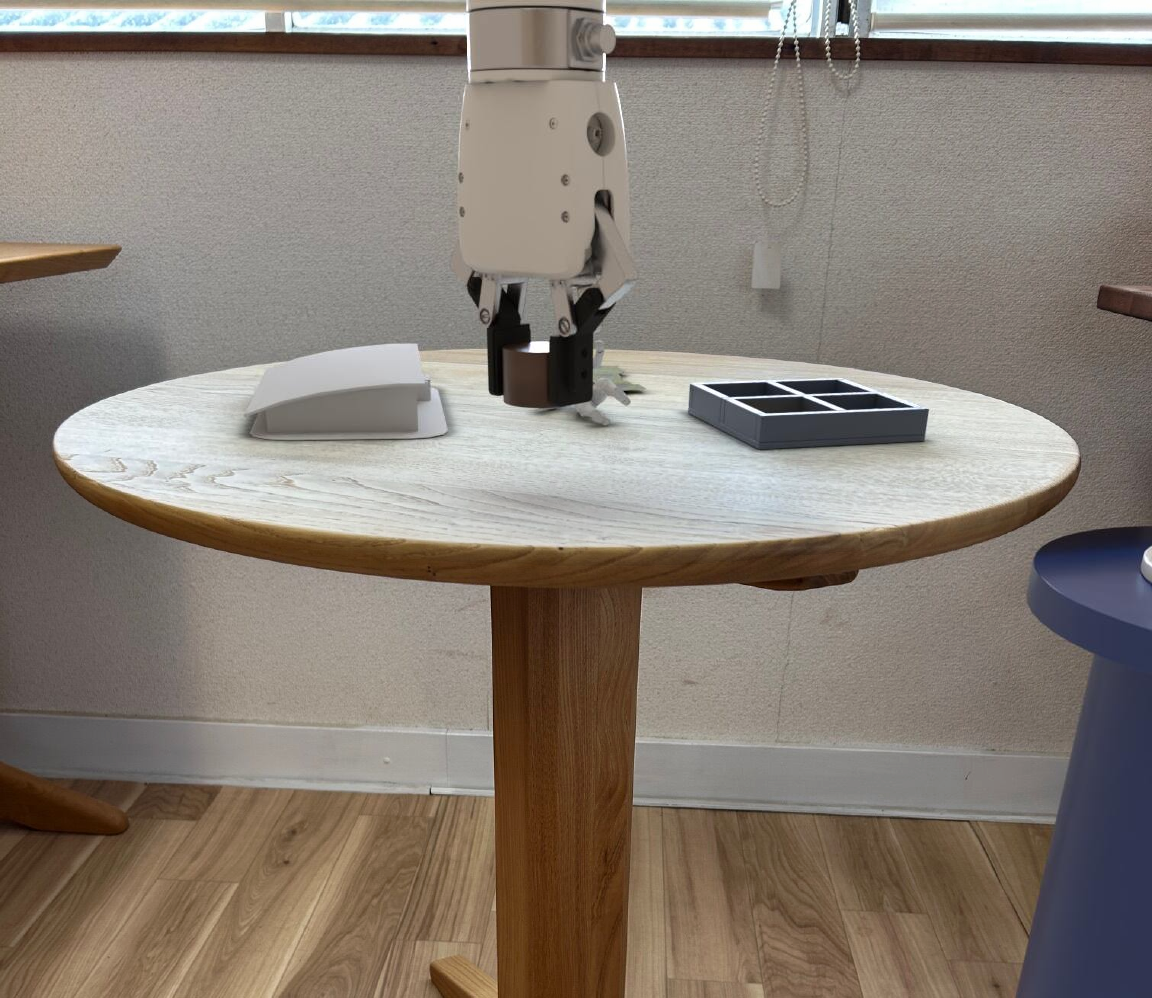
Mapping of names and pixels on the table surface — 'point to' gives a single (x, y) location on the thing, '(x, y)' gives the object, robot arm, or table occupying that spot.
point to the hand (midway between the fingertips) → (540, 394)
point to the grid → (806, 413)
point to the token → (526, 375)
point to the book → (348, 397)
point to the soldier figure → (599, 392)
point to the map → (614, 377)
